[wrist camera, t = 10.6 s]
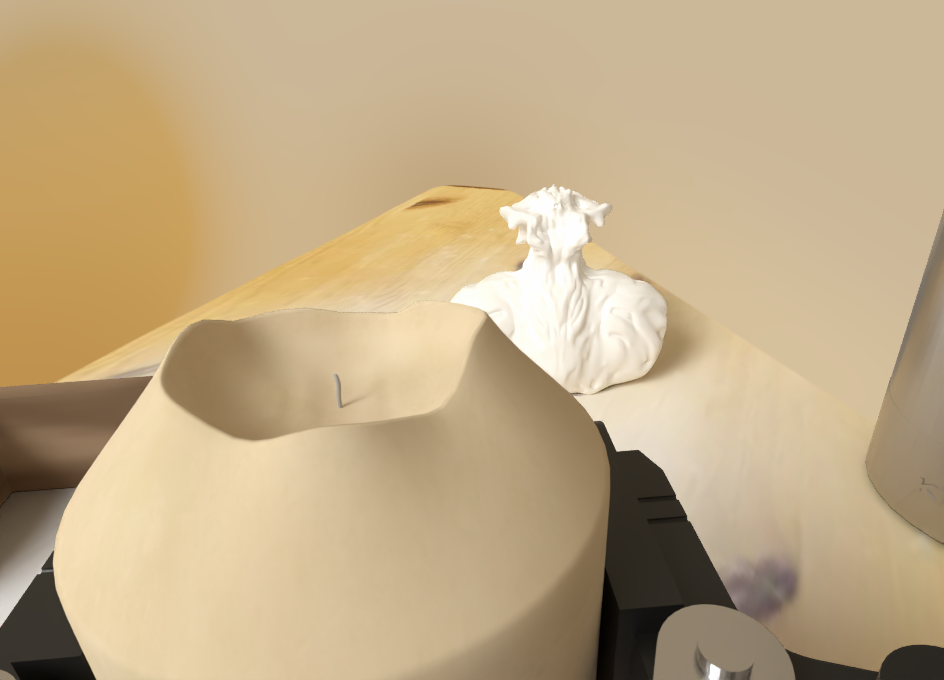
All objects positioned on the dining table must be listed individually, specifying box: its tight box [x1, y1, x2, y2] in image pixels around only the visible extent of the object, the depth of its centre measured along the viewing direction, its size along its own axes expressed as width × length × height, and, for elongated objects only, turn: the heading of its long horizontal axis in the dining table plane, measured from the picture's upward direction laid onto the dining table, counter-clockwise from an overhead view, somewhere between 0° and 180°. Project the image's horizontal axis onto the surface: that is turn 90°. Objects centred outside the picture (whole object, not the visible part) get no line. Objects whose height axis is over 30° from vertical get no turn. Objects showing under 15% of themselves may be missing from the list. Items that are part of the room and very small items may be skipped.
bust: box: [450, 184, 668, 395], centre depth 35 cm, size 12×8×11 cm
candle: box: [53, 300, 610, 680], centre depth 8 cm, size 6×6×10 cm
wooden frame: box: [0, 376, 153, 506], centre depth 25 cm, size 9×20×5 cm, turn 94°
